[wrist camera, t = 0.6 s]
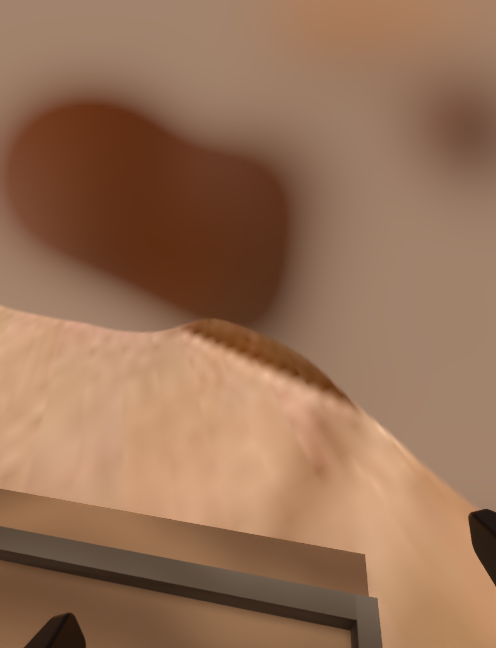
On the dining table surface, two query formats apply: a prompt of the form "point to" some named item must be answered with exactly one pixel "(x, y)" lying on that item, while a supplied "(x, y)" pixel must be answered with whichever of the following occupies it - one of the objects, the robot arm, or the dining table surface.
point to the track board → (173, 582)
